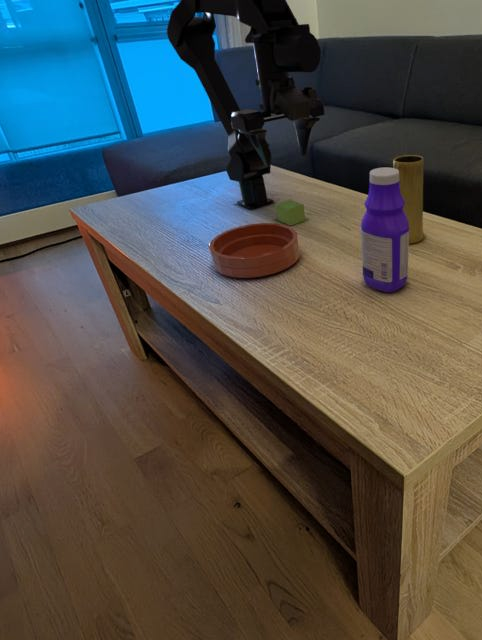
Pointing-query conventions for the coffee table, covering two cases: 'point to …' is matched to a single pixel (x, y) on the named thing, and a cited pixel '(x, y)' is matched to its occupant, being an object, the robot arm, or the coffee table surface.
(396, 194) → the bottle
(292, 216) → the sponge
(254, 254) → the bowl
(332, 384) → the coffee table surface
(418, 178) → the vase
